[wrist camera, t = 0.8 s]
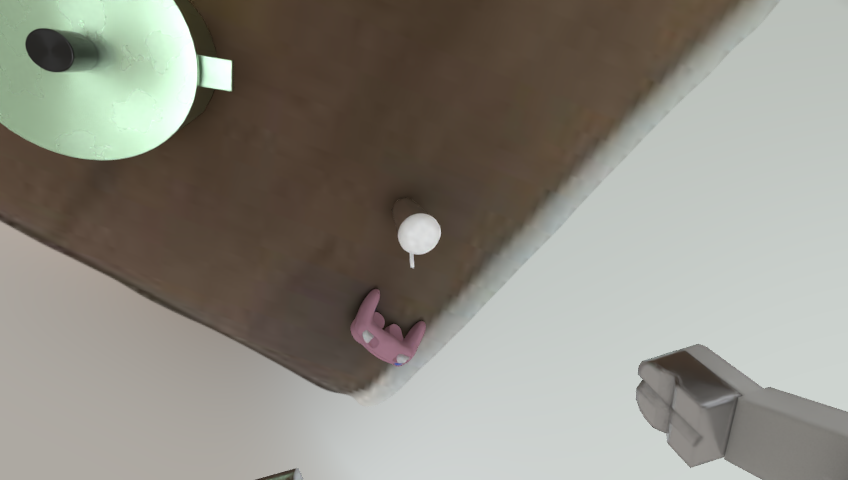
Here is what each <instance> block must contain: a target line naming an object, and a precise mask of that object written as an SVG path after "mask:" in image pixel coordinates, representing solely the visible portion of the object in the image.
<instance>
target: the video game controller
mask: <svg viewBox="0 0 848 480" xmlns="http://www.w3.org/2000/svg"><path fill="white" fill-rule="evenodd" d="M379 299H380V291H379V290H378V289H374V290H372V291H371V292H370V293H369V294H368V295H367V296H366V298H365V299H364V301H363V302H362V304H361V306H360V308H359V311H358V313H357V315H356V318H355V320H354V321H353V322H352V324H351V333H352V335H353V337H354V339H355V340H356V341H357V342H358V343H360V344H362V345H363V346H364V347H365V348H366V349H367V350H368V351H369V352H371V353H372V354H373V355H375V356H376V357H377V358H379V359H381V360H383V361H385V362H388V363H391V364H393V365H395V366H402V365H404V364H405V363H407V362H409V361H410V360H411V359H412V358H413V356H414V355H415V353H416V351H417V348H418V346H419V344H420V342H421V340H422V338H423V336H424V333H425V329H426V325H425V323H424V322H423V321H419V322H418V323H416V324H415V325H414V326H413V327H412V328H411V330H410V331H409V332H408V334H407V335H406V337H405V338H404V339H403V336H402V331H401V329H400V327H399V326H398V325H396V324H392V325H390V326H388V327H386V328H385V330H382V328H383V327H384V324H385V320H384V318H383V316H382V315H381V314H380V313H378V312H375V309H376V306H377V304H378V302H379Z"/></svg>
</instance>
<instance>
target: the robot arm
mask: <svg viewBox="0 0 848 480" xmlns="http://www.w3.org/2000/svg"><path fill="white" fill-rule="evenodd" d="M638 375H639V376H640V377H641V378H642V379H643V380H642V381H641V383H640V384H639V386H638V387H637V390H636V400H637V403H638V406H639V409H640V411H641V412H642V414H643V416H644V417H645V419H646V420H647V421H648V422H649V424H650V425H651V426H652V427H653V428H655V429H657V430H659V431H662V432H664V433H666V435H667V442H668V444H669V445H670V446H671V447H672V449H673V450H674V451H675V452H676V453H677V454H678V455H679V456H680V457H681V458H682V459H683V460H684V461H685V463H687V465H688V466H689V467H690V468H691V467H694V466H697V465H701V464H704V463H707V462H710V461H713V460H716V459H719V458H722V457H725V458H724V459H725V460H727V461H729V462H730V463H732V464H734V465H736V466H738V467H740V468H742V469H743V470H745V471H747V472H749V473H751V474H753V475H755V476H756V477H759V478H760V479H762V480H848V412H846V411H843V410H840V409H837V408H833V407H831V406H827V405H824V404H821V403H818V402H815V401H812V400H808V399H805V398H802V397H799V396H796V395H793V394H790V393H786V392H783V391H780V390H777V389H774V388H771V387H768V388H765V389H764V388H762V387H761V386H759V385H758V384H757V383H755V382H754V381H752V380H751V379H750V378H748V377H747V376H746V375H744V374H743V373H741V372H740V371H739V370H737V369H736V368H735V367H733V366H731V364H729V363H728V362H726V361H725V360H724V359H722V358H721V357H720V356H718V355H717V354H715V353H714V352H713V351H711V350H710V349H708V348H707V347H705V346H703V345H700V344H696V345H693V346H690V347H687V348H683V349H680V350H676V351H673V352H670V353H666V354H664V355H660V356H657V357H654V358H651V359H648V360H645V361H642V362H641V364H640V365H639V368H638ZM257 480H303V477H302V475H301V473H300V471H299V469H298V468H296V469H292V470H289V471H285V472H281V473H278V474H274V475H271V476H267V477H263V478H260V479H257Z"/></svg>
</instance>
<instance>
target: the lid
mask: <svg viewBox="0 0 848 480" xmlns="http://www.w3.org/2000/svg"><path fill="white" fill-rule="evenodd" d="M199 75H200V69H199V57H198V52H197V48H196V43H195V40H194V37H193V34H192V31H191V28H190V26H189V24H188V22H187V20H186V18H185V16H184V13H183V12H182V10H181V8H180V7H179V5H178V4H177V2H176V0H0V123H1V124H3V125H4V126H5V127H7V128H8V129H9V130H11V131H13V132H14V133H16V134H18V135H19V136H21V137H22V138H24V139H26V140H28V141H30V142H32V143H34V144H36V145H38V146H40V147H43V148H45V149H48V150H51V151H53V152H56V153H59V154H63V155H67V156H70V157H75V158H81V159H87V160H119V159H124V158H130V157H134V156H137V155H140V154H143V153H146V152H148V151H150V150H152V149H154V148H156V147H158V146H160V145H161V144H163V143H164V142H166V141H167V140H169V139H170V138H171V137H172V136H173V135H174V134H175V133H176V132H177V131H178V130H179V129H180V128H181V127H182V125H183V124H184V123H185V121H186V120H187V118H188V116H189V114H190V113H191V111H192V109H193V106H194V103H195V100H196V97H197V92H198V87H199Z"/></svg>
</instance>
